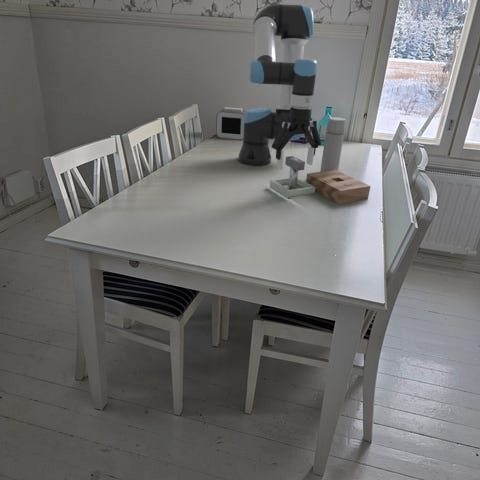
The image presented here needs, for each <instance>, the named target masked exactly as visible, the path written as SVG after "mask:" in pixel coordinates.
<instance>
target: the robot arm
mask: <svg viewBox="0 0 480 480" xmlns="http://www.w3.org/2000/svg"><path fill="white" fill-rule="evenodd" d="M253 20H254V21H253V23H252V32H253V35H254V37H255V42H254V43H255V45H254V47H255V48H254V49H255V51H254V54H255V56H254V57H255V60H252V61H250V67H249V81H250V83H252V84H259V85H280V97H279V105H277V106H276V108H275V111H274V112H273V111H272V109H271V108H269V107H268V108H267V107H266V108H265V107H258V108H251V109H249V110H246V111H247V112H246V113H245V117H244V134H243V140H242V145H241V148H240V150H239V153H238V161H239V163H242V164H244V165H248V166H249V165H250V166H266V165H269V164H270V163H271V162H272V154H271V151H270V146H269V142H270V141H269V140H273V142H272V144H271V148H272V149H273V150H275V159H276V168H278V169H280V170H282V169H283V164H284V152H285V151H284V150H283V149H284V148H285V147H286V145H287V144H288V143H289V141H298V140H300V138H301V137H302V135H303V136H304V137H305V139H306V141H307V142H308V144H309V146H308V148H307V156H306V164H307V165H309V166H313V162H314V161H313V160H314V157H315V155H316V151H317V150H316V149H318V148H319V146H321V145H322V142H321V137H320V134H319V131H318V127H317V125H318V122H317V120H314V119H311V117H312V107H313V102H314V91H315V84H316V77H317V72H318V68H317V66H318V62H317V60H316V59H310V58H304V55H305V54H304V51H305V46H306V45H307V44H308V43H309V39H310V38H312V37H313V35H314V26H315V25H314V13H313V9H312V7H310V6H309V5H308V6H306V5H302V4H279V3H273V4H269V5H267V6H265V7H264V8H263V9H261V10H260V11H259V12H258V13H257V14H256V16H255V17H254V19H253ZM275 36H276V37H280V42H281V43H282V44H283V54H282V61H276V41H275V38H276V37H275ZM309 128H310V130H309Z"/></svg>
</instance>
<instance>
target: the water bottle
mask: <svg viewBox="0 0 480 480" xmlns="http://www.w3.org/2000/svg"><path fill="white" fill-rule="evenodd" d="M346 121H347V119H346V118H343V117H338V116H336V117H335V116H332V117H331V116H330V117H329V118H328V121H327V124H326V129H324V130H325V131H326V132H325V136H324V144H323V151H322V157H321V165H320V171H319V172H323V171H331V170H337V171H339V168H340V161H341V155H342V150H343V143H344V136H345V133H346V125H347V124H346Z"/></svg>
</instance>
